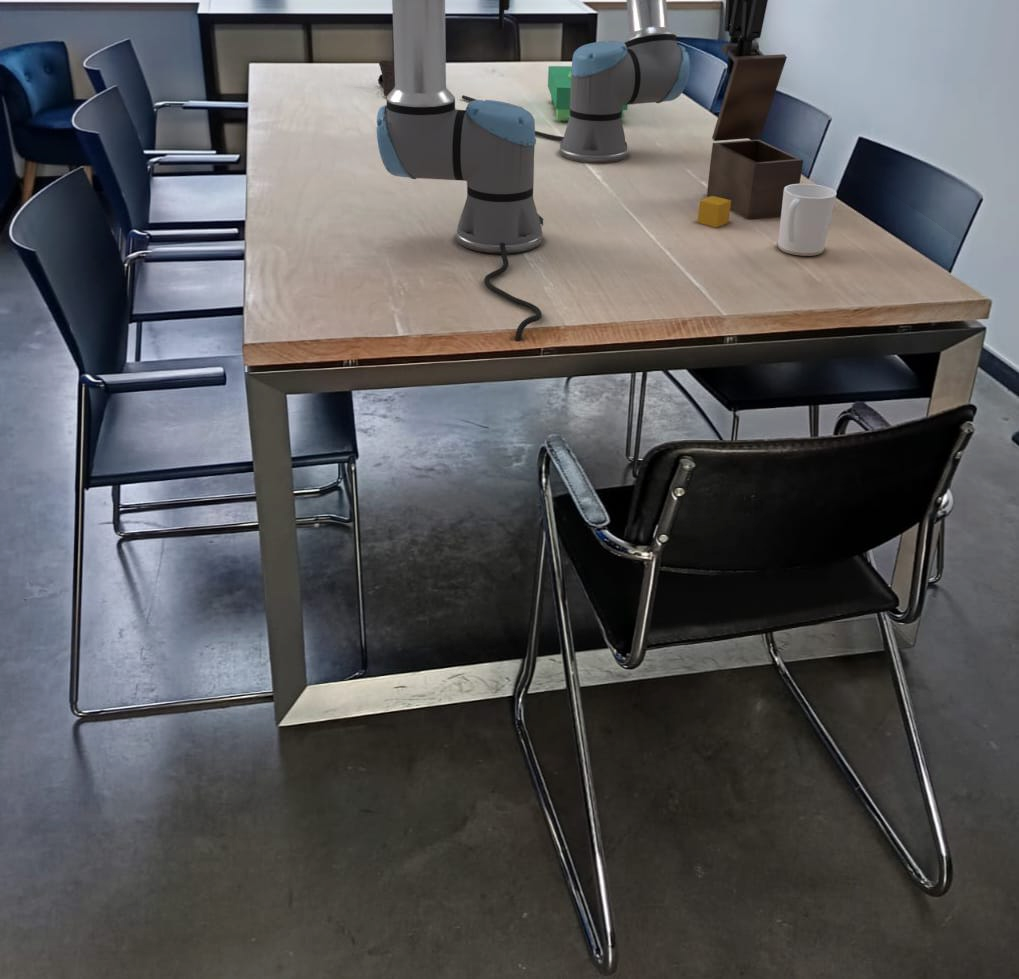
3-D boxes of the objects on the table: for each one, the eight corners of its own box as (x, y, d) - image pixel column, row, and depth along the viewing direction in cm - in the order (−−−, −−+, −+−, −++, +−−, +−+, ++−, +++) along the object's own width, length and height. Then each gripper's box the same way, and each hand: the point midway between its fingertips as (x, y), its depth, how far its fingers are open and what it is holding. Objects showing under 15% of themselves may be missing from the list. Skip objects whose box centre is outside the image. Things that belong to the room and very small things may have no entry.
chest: (794, 214, 212) (803, 159, 207) (747, 219, 209) (755, 163, 204) (751, 191, 225) (758, 139, 220) (706, 195, 222) (712, 142, 217)
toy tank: (612, 47, 295) (630, 72, 266) (608, 94, 302) (626, 124, 272) (547, 45, 295) (557, 71, 265) (545, 93, 301) (555, 123, 271)
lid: (787, 57, 206) (765, 33, 212) (738, 59, 203) (717, 35, 209) (760, 137, 219) (740, 113, 225) (714, 141, 216) (694, 116, 221)
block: (728, 222, 207) (731, 200, 205) (716, 227, 205) (719, 205, 202) (709, 217, 210) (712, 195, 207) (697, 222, 207) (699, 200, 205)
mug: (789, 236, 200) (798, 180, 195) (834, 247, 195) (845, 190, 190) (760, 251, 193) (769, 193, 188) (807, 263, 188) (817, 204, 183)
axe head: (443, 87, 294) (392, 77, 287) (436, 115, 299) (385, 106, 292) (421, 62, 307) (371, 52, 300) (414, 89, 311) (365, 80, 304)
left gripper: (534, -91, 215) (530, 25, 226) (409, -94, 217) (412, 20, 229) (530, -88, 209) (526, 31, 220) (401, -92, 211) (405, 26, 222)
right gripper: (793, -57, 197) (774, 80, 209) (750, -64, 209) (734, 66, 221) (757, -56, 194) (739, 82, 207) (715, -64, 207) (701, 67, 219)
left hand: (468, 26), depth 224 cm, fingers open, 13 cm apart
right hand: (737, 73), depth 214 cm, fingers closed on lid, 2 cm apart
